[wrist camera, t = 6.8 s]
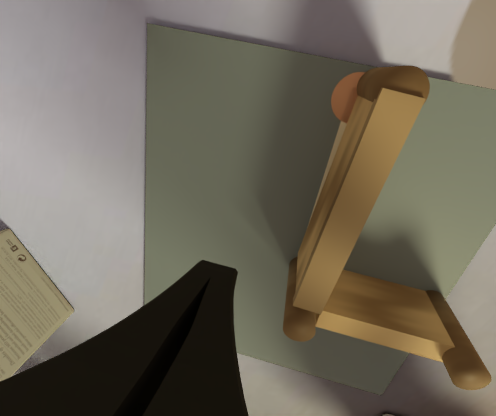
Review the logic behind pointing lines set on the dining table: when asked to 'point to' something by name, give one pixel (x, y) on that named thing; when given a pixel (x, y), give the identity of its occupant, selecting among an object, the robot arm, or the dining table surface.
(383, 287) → the fence fixed
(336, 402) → the dining table surface
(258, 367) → the dining table surface
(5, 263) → the supplement box
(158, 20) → the dining table surface
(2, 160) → the dining table surface
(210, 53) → the card
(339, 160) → the fence panel
